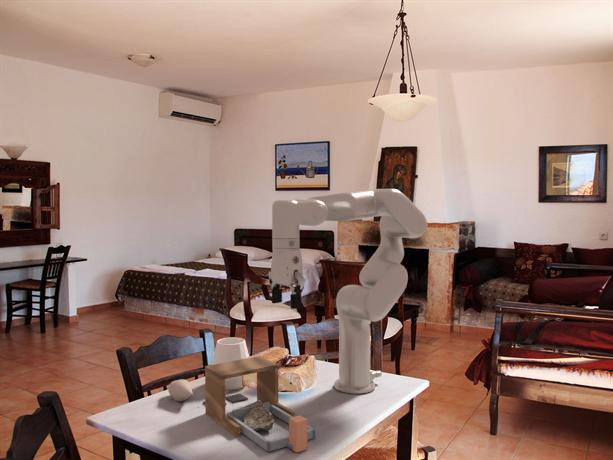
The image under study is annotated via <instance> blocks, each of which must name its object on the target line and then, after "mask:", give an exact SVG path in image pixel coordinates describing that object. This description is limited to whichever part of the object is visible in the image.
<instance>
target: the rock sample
mask: <svg viewBox="0 0 613 460" xmlns="http://www.w3.org/2000/svg"><path fill="white" fill-rule="evenodd" d="M253 405H254V406H253V408H252V410H251V411H250V412H249V414H248V415H246V416H245V417H244V418H243V420H242V421H241V422H243V423H244V424H245V425H247V426H248V427H250V428H251V429H253V430H254V431H255V432H257V431H265V432H266V431H267V432H268V431H270V430H272V429H273V427H274V423H275V419H274V416H273V414H272V413H270V411H269V410H268V409H267V408H266V407H265V406H264V405H263V403H262V402H261V401H260V400H258V401H257V400H256V402H255V404H253Z"/></svg>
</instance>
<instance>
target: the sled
mask: <svg viewBox="0 0 613 460" xmlns="http://www.w3.org/2000/svg"><path fill="white" fill-rule="evenodd" d="M254 405H255V404H253V405H248V406H246V407H241V408H237V409H233V410H232V414H228V416H227V417H228V418H229V419H231V420H232V421H233V422H235V423H236V424H238V425H239V426H240V433H242V434H243V435H244V436H246V437H247V438H248V439H249V440H252V441H253V442H254V443H256V444H257V445H258V446H260V447H261V448H262V449H264V450H265V451H266V452H272V451H276V450H279V449H282V448H286V447H288V448H289V449H291V451H293V452H295V453H300V452H302V451H305V450H308V441H309V440H311V439H315V438H316V429H315V428H314V427H311V426H310V425H308V419H307V418H306V417H304V416H302V415H295V417H293V416H291V415H289V414H288V413H286V412H284V411H283V410H281V409H279V408H278V407H276V406H274V405H272V404H271V405H270V402H265V403H263V405H264V406H265V407H266V408H267V409H268V410H269V411H270V413H271V414H272V416H273V415H274V416H275V417H277V418H279V420H282V421H283V422H285V423H286V424H288V429H289V430H288V431H289V432H288V435H284V436H280V437H278V438H274V439H271V440H268V439H267V438H266V437H264V436H262V435H261V434H260V433H258V432H257V431H254V430H253V429H251V428H250V427H248V426H247V425H245V424H244V423H243V422H242V420H243V418H244V417H245V416H246V415H248V414H249V412H250V411H251V410H252V408H253V406H254Z"/></svg>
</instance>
